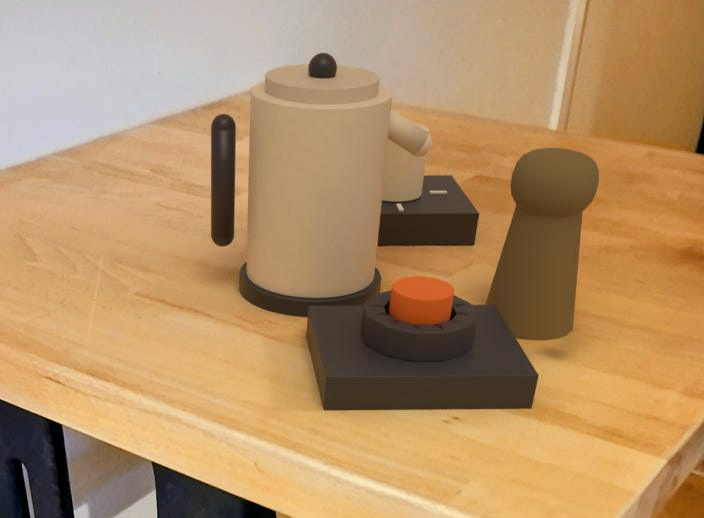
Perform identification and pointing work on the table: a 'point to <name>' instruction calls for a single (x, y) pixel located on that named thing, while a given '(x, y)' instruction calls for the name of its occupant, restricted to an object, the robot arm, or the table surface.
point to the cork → (543, 243)
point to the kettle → (310, 184)
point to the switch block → (417, 359)
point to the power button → (421, 300)
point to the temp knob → (403, 173)
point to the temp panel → (430, 216)
